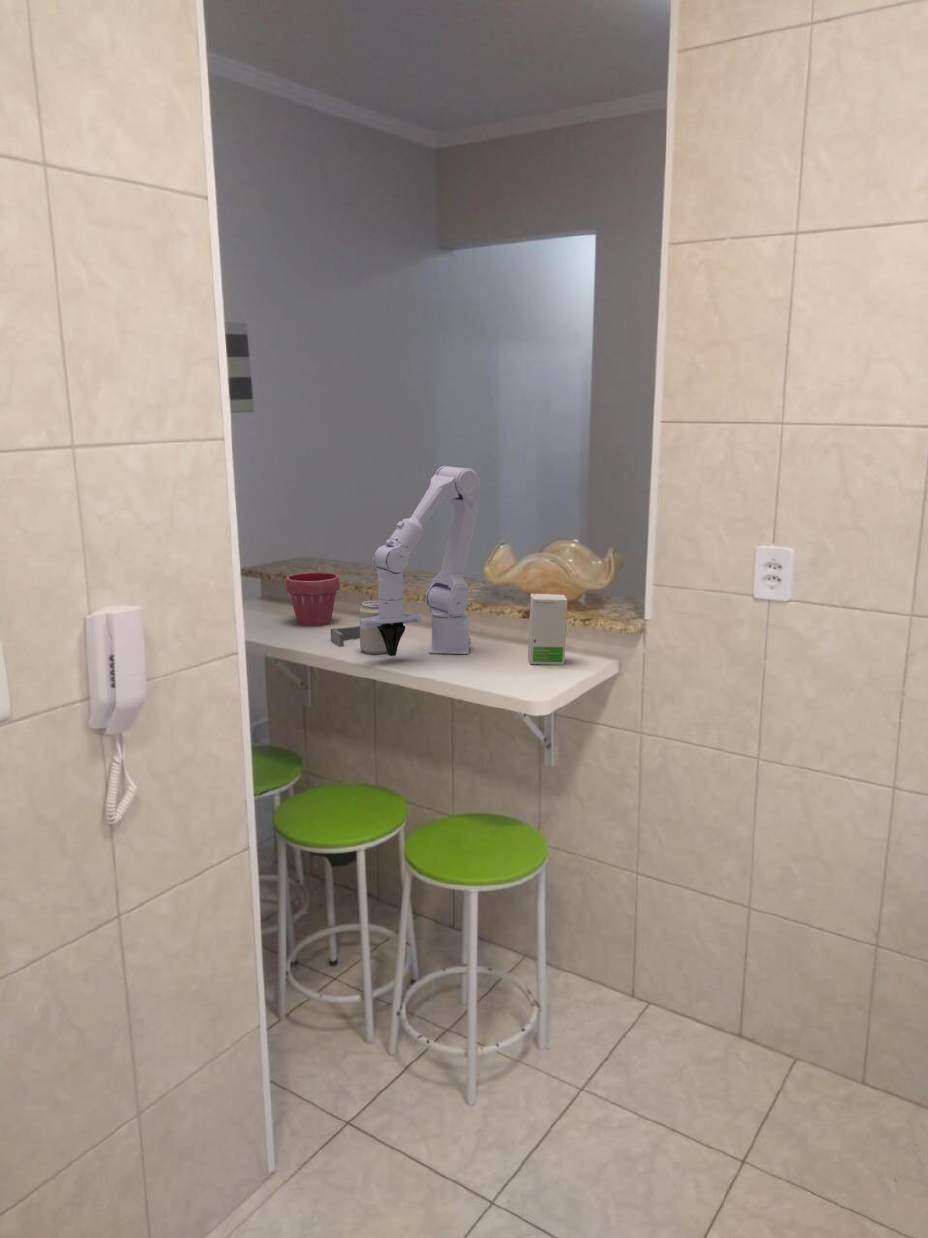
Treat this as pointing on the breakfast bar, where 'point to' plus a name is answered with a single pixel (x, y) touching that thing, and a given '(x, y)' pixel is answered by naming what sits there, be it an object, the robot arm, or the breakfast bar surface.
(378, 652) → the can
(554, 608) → the skincare box
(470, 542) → the robot arm
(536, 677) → the breakfast bar surface
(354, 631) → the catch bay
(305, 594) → the plant pot
